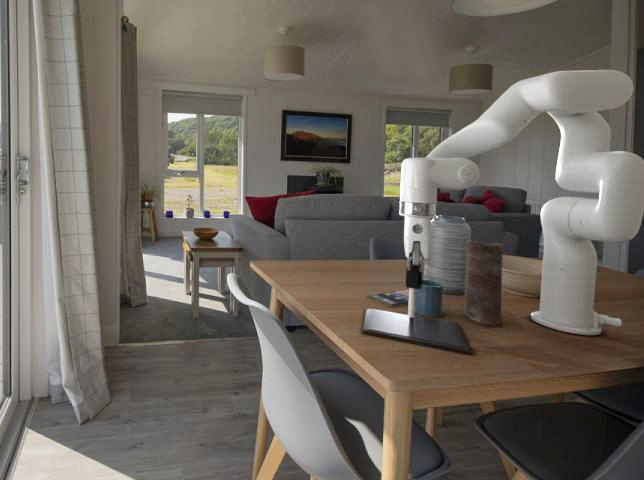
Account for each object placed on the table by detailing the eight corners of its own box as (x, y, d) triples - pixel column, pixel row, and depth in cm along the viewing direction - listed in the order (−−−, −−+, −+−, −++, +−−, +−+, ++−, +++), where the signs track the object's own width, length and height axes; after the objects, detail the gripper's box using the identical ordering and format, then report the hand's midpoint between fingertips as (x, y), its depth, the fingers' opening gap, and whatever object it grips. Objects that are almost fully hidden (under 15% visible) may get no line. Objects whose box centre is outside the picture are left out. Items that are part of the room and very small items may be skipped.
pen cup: (439, 311, 103) (441, 281, 103) (442, 319, 97) (444, 288, 97) (411, 306, 106) (412, 277, 106) (412, 314, 100) (414, 284, 100)
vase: (430, 282, 131) (433, 214, 130) (471, 291, 122) (476, 218, 121) (418, 289, 123) (421, 216, 122) (461, 298, 114) (466, 220, 113)
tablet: (457, 326, 93) (458, 323, 93) (470, 354, 79) (470, 350, 79) (366, 311, 102) (366, 307, 102) (363, 333, 88) (363, 329, 88)
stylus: (414, 321, 94) (417, 263, 93) (414, 323, 93) (418, 264, 92) (407, 319, 95) (410, 262, 94) (407, 321, 93) (410, 263, 93)
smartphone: (368, 297, 113) (368, 293, 113) (406, 292, 119) (406, 288, 119) (391, 307, 106) (391, 302, 106) (431, 301, 111) (431, 297, 111)
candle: (456, 316, 100) (460, 239, 99) (474, 313, 103) (479, 237, 102) (488, 328, 93) (494, 245, 92) (507, 324, 96) (512, 243, 95)
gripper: (439, 214, 84) (434, 299, 84) (432, 208, 98) (428, 281, 98) (400, 211, 87) (395, 293, 88) (398, 206, 101) (395, 276, 102)
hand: (413, 286), depth 93 cm, fingers closed on stylus, 1 cm apart
